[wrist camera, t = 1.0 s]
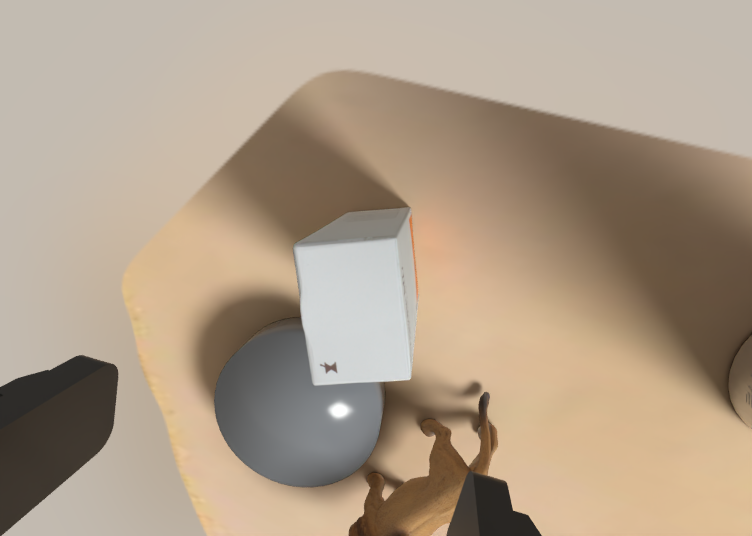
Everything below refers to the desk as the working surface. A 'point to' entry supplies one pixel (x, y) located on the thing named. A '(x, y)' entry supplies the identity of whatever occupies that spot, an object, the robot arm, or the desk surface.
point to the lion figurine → (426, 486)
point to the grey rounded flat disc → (294, 412)
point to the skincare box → (359, 297)
